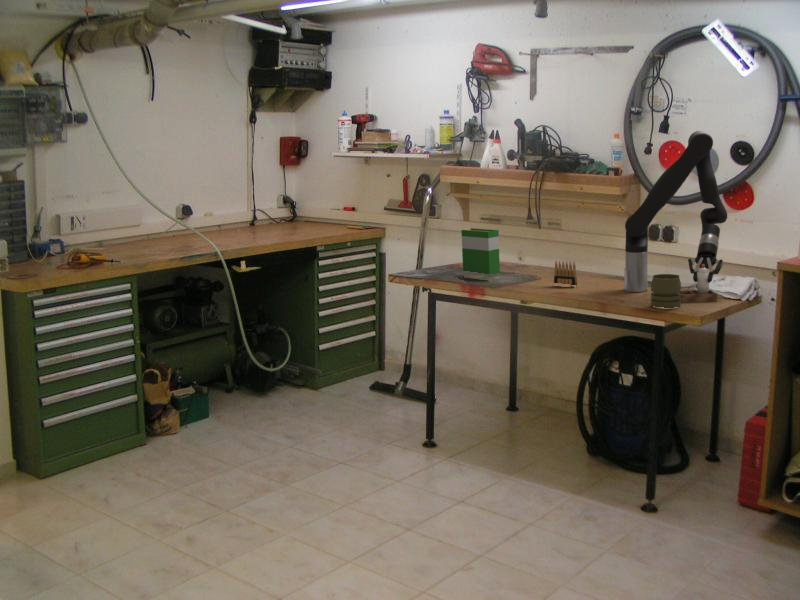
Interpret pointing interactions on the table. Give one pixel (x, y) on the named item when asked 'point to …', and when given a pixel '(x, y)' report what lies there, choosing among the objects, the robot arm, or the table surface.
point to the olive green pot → (666, 291)
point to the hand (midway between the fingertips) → (702, 281)
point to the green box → (481, 251)
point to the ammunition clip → (565, 273)
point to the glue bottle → (702, 280)
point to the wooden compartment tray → (697, 296)
